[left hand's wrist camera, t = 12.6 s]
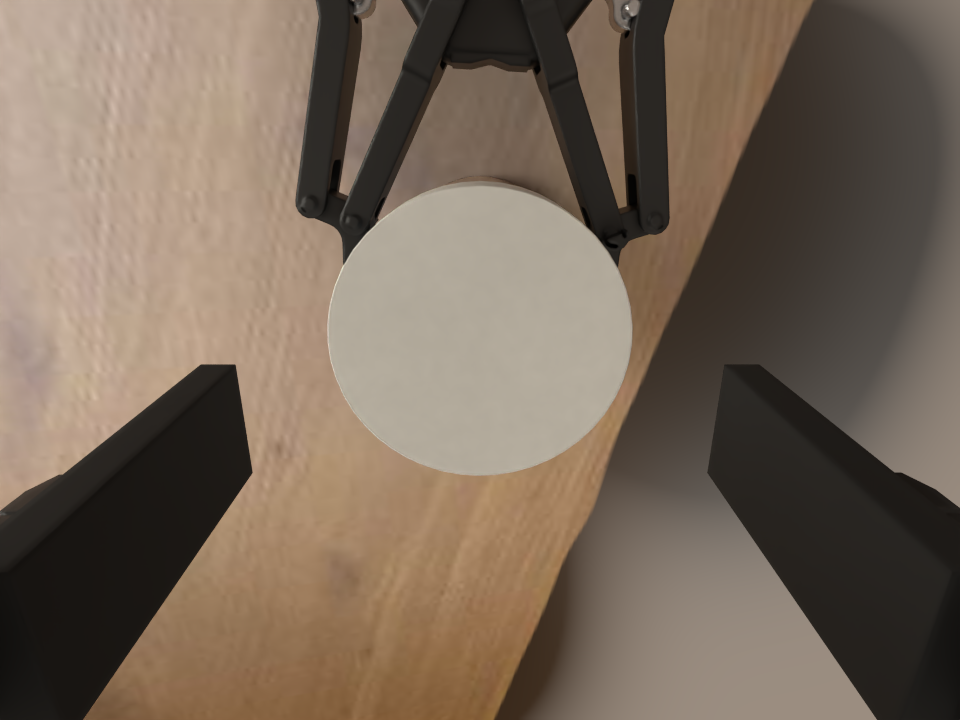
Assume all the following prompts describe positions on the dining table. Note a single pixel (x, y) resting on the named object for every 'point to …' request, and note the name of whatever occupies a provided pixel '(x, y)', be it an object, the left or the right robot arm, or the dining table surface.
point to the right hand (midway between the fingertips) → (475, 374)
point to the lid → (480, 329)
